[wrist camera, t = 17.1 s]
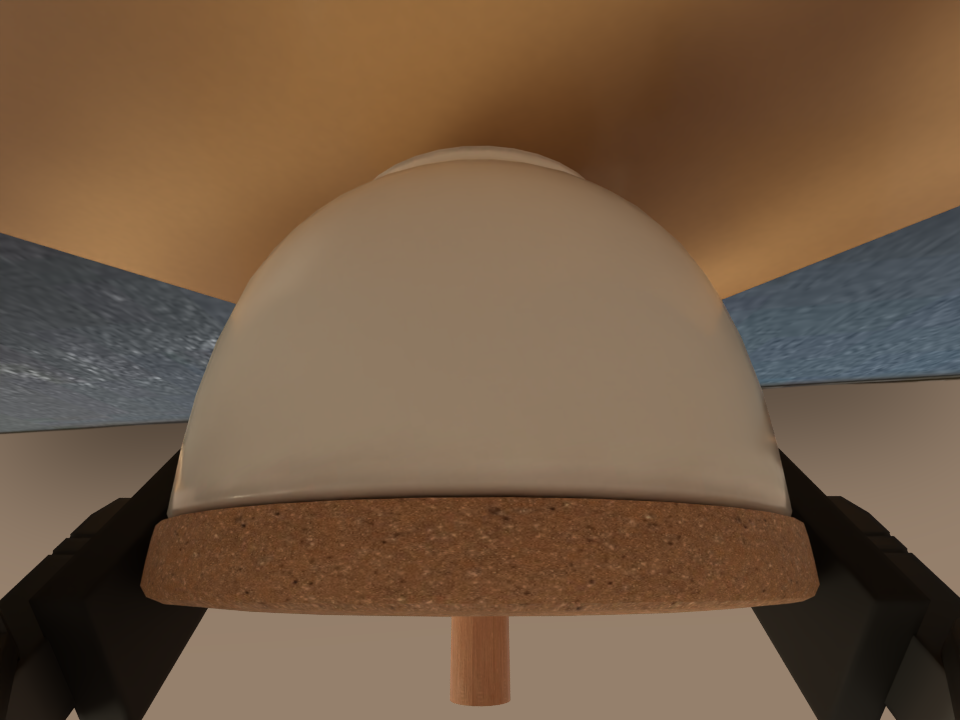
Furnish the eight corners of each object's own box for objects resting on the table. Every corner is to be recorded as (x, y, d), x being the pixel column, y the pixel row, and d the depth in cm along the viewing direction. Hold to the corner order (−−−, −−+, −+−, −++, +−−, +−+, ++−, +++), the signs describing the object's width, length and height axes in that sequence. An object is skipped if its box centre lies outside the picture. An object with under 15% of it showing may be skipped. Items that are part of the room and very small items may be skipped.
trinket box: (627, 341, 18) (666, 656, 14) (307, 333, 17) (261, 660, 13) (852, 42, 8) (1178, 828, 4) (120, -1, 7) (-241, 872, 4)
